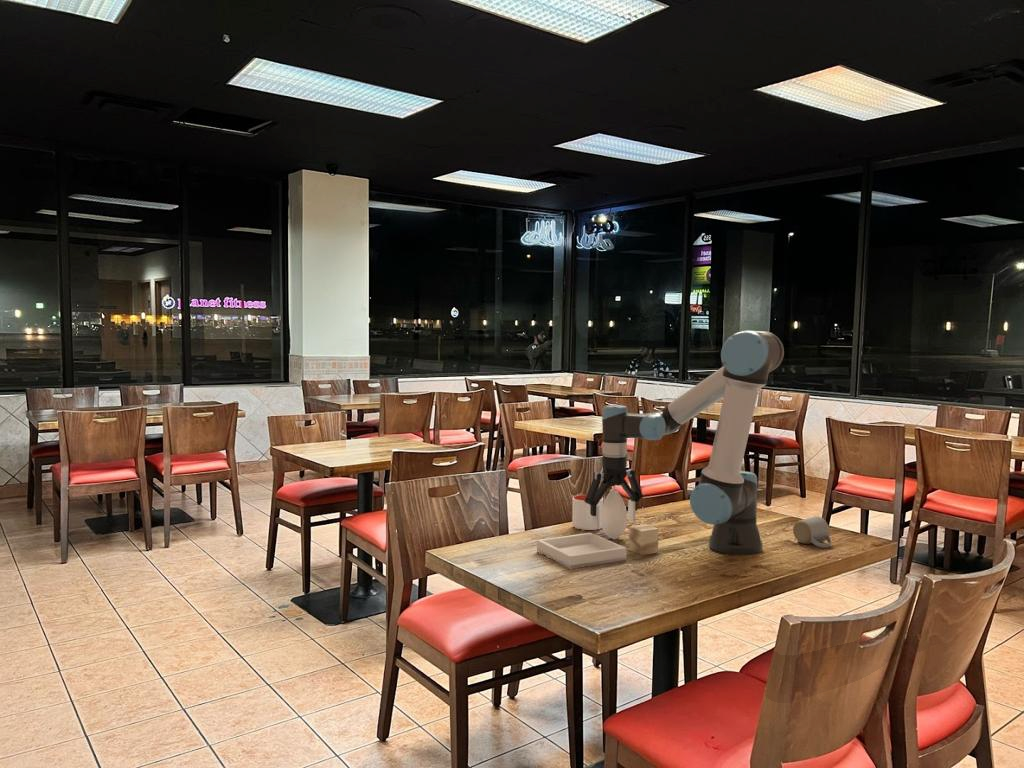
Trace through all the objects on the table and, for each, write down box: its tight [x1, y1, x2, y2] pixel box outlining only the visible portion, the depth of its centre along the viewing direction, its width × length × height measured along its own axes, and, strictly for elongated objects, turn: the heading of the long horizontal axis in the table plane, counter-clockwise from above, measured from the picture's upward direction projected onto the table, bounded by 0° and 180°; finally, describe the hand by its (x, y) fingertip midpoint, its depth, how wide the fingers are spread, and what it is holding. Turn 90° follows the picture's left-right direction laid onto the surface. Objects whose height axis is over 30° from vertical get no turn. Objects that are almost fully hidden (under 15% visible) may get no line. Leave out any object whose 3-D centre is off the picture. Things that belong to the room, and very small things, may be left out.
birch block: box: [628, 523, 659, 556], centre depth 214 cm, size 6×6×7 cm
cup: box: [571, 494, 604, 531], centre depth 241 cm, size 10×10×10 cm
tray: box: [536, 532, 627, 570], centre depth 210 cm, size 18×18×4 cm
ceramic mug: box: [792, 515, 832, 549], centre depth 222 cm, size 11×8×8 cm
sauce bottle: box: [601, 485, 628, 540], centre depth 227 cm, size 8×8×18 cm
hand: (613, 523), depth 228 cm, fingers open, 13 cm apart
